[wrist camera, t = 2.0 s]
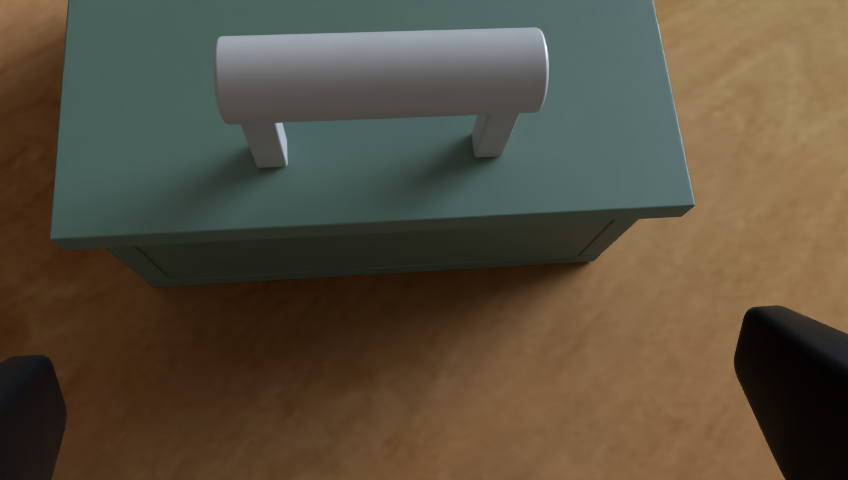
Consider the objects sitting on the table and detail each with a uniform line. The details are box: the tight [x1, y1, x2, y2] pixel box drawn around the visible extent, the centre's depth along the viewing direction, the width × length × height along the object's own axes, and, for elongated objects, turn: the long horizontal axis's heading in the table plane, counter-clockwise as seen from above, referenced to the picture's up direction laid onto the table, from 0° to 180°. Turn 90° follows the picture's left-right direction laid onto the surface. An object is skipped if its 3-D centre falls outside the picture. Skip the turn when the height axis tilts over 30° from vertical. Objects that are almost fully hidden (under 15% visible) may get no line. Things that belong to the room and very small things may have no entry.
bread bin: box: [106, 219, 638, 287], centre depth 22 cm, size 12×15×7 cm
